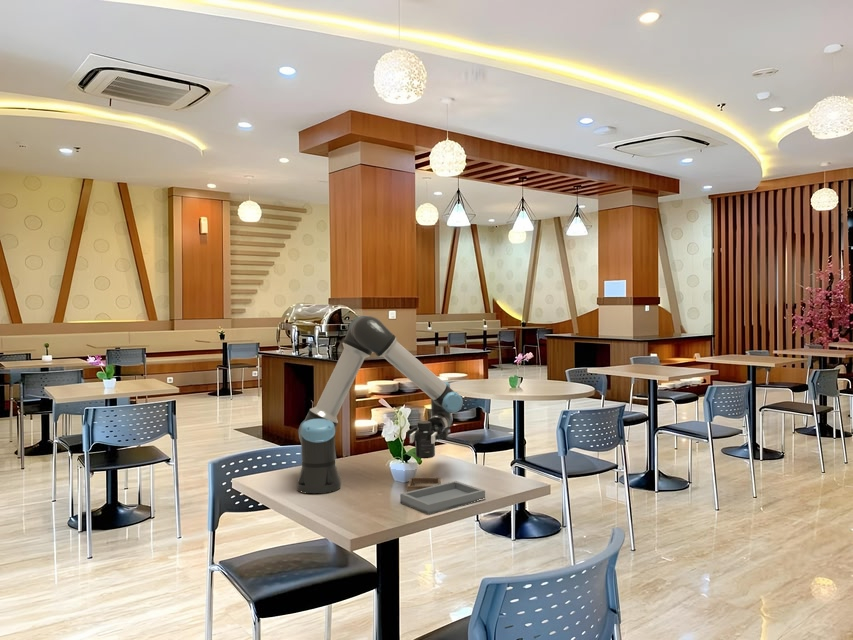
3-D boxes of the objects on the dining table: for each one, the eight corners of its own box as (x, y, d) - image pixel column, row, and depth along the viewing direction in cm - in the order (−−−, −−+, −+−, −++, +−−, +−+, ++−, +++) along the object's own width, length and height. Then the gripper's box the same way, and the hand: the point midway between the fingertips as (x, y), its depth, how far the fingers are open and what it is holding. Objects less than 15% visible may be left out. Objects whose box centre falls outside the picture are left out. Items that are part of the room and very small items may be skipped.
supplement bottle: (413, 454, 218) (413, 421, 218) (432, 453, 220) (431, 419, 219) (417, 459, 211) (416, 424, 211) (437, 458, 213) (436, 423, 213)
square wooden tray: (410, 482, 222) (410, 477, 222) (440, 482, 221) (440, 477, 221) (407, 491, 211) (407, 486, 211) (439, 491, 210) (439, 486, 210)
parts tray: (400, 502, 199) (400, 493, 199) (455, 489, 213) (455, 480, 213) (428, 514, 187) (428, 504, 187) (485, 499, 201) (485, 490, 201)
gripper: (461, 437, 231) (450, 451, 208) (410, 435, 235) (393, 449, 213) (461, 417, 231) (449, 429, 208) (410, 416, 235) (393, 427, 213)
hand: (421, 439), depth 210 cm, fingers closed on supplement bottle, 7 cm apart
